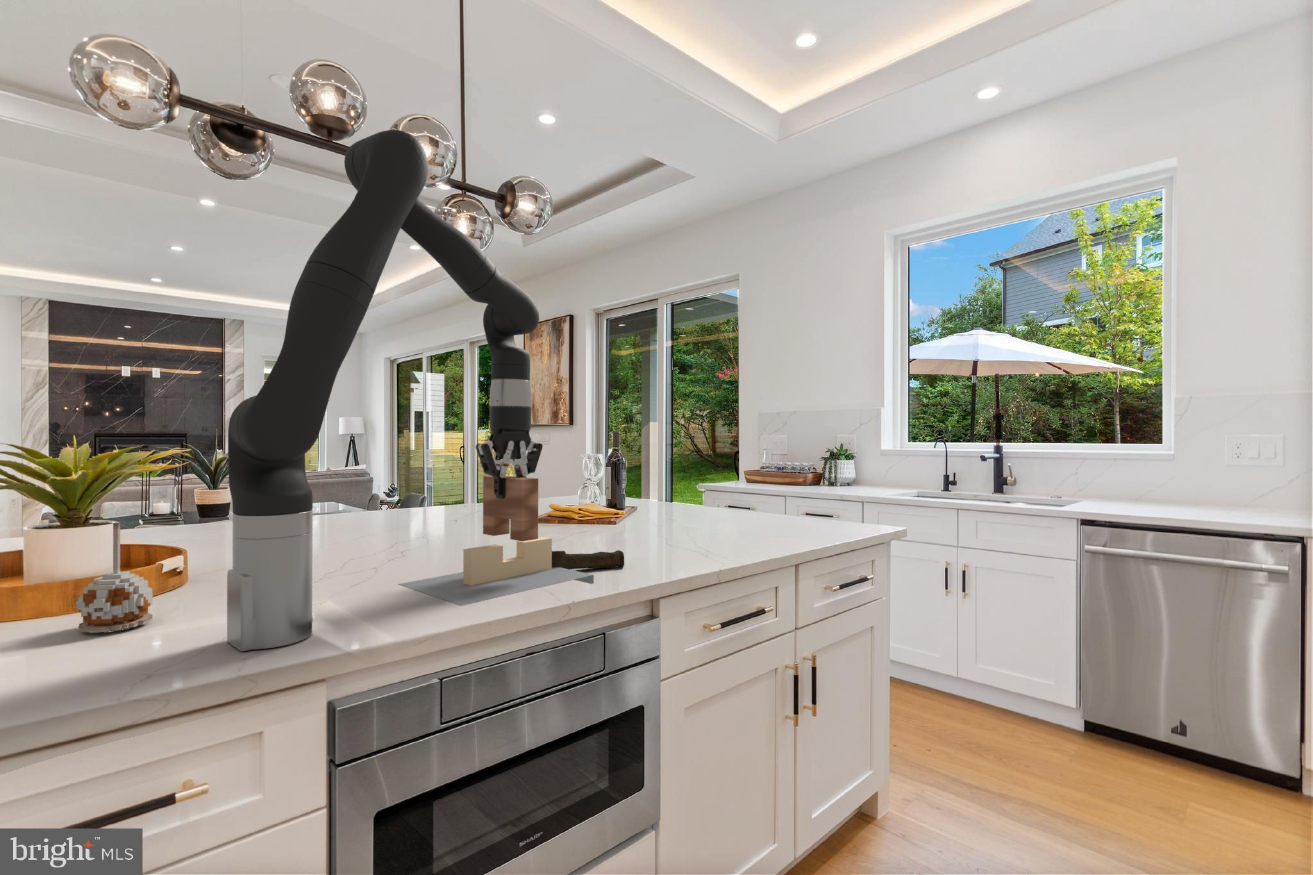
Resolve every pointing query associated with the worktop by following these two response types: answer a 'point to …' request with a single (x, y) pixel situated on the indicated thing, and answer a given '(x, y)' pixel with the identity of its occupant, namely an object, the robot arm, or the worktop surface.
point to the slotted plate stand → (499, 573)
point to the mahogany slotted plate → (511, 508)
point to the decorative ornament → (115, 598)
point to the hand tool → (588, 560)
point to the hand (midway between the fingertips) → (510, 496)
